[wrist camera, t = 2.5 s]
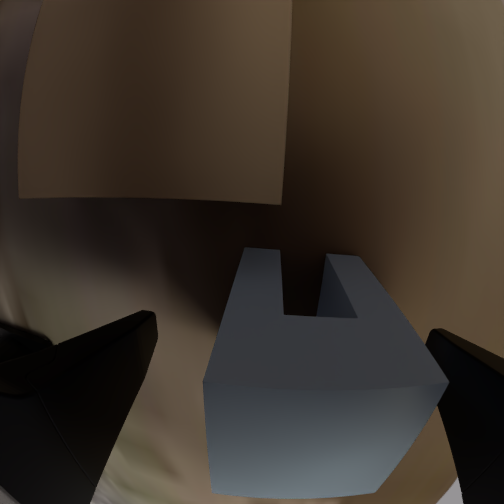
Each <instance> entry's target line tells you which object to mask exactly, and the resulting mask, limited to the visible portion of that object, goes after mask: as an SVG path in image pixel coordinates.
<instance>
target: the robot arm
mask: <svg viewBox="0 0 504 504" xmlns="http://www.w3.org/2000/svg"><path fill="white" fill-rule="evenodd" d="M157 339H158V331H157V321H156V315H155V313H154V312H152V311H146V310H141V311H139V312H136V313H134V314H132V315H129V316H127V317H124V318H122V319H119V320H117V321H114V322H112V323H109V324H107V325H104V326H102V327H99V328H97V329H94V330H92V331H89V332H87V333H84V334H82V335H79V336H77V337H74V338H71V339H69V340H66V341H64V342H61V343H59V344H58V345H57V344H56V345H54V346H52V345H51V343H49V342H48V341H47V340H45V339H42V338H39V337H36V336H33V335H30V334H27V333H25V332H22V331H19V330H16V329H14V328H11V327H9V326H6V325H3V324H1V323H0V504H90V502H91V500H92V497H93V495H94V492H95V490H96V487H97V484H98V482H99V480H100V477H101V475H102V472H103V470H104V468H105V465H106V463H107V461H108V458H109V456H110V454H111V451H112V449H113V447H114V445H115V442H116V440H117V438H118V435H119V433H120V431H121V429H122V427H123V424H124V422H125V420H126V418H127V415H128V413H129V411H130V409H131V407H132V405H133V402H134V400H135V398H136V396H137V394H138V392H139V390H140V387H141V385H142V383H143V381H144V379H145V376H146V373H147V370H148V367H149V364H150V361H151V358H152V355H153V352H154V349H155V346H156V343H157ZM425 346H426V347H427V349H428V350H429V352H430V353H431V355H432V356H433V358H434V359H435V361H436V362H437V364H438V365H439V367H440V368H441V370H442V371H443V373H444V374H445V376H446V377H447V379H448V381H449V384H448V386H447V387H446V389H445V391H444V393H443V395H442V397H441V399H440V400H439V402H438V404H437V406H438V409H439V412H440V415H441V418H442V421H443V425H444V428H445V431H446V434H447V438H448V441H449V445H450V448H451V452H452V455H453V459H454V463H455V467H456V471H457V475H458V479H459V483H460V488H461V492H462V499H463V503H464V504H504V358H502V357H500V356H498V355H495V354H493V353H491V352H489V351H487V350H485V349H483V348H481V347H479V346H477V345H475V344H473V343H471V342H469V341H467V340H465V339H463V338H461V337H459V336H457V335H455V334H453V333H451V332H449V331H447V330H444V329H442V328H438V329H432V330H431V331H430V333H429V336H428V338H427V341H426V344H425Z"/></svg>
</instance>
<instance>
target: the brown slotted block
mask: <svg viewBox="0 0 504 504" xmlns="http://www.w3.org/2000/svg"><path fill="white" fill-rule="evenodd" d="M291 26H292V0H43V2H42V5H41V9H40V12H39V15H38V18H37V22H36V26H35V29H34V33H33V37H32V41H31V45H30V50H29V55H28V60H27V65H26V70H25V76H24V83H23V90H22V98H21V107H20V117H19V132H18V192H19V199H26V198H67V197H122V198H166V199H192V200H213V201H231V202H247V203H262V204H275V205H281V201H282V187H283V174H284V160H285V145H286V129H287V112H288V94H289V74H290V52H291Z"/></svg>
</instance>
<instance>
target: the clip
mask: <svg viewBox="0 0 504 504" xmlns="http://www.w3.org/2000/svg"><path fill="white" fill-rule="evenodd" d="M448 384H449V381H448V379H447V377H446V376H445V374H444V373H443V371H442V370H441V368H440V367H439V365H438V364H437V362H436V361H435V359H434V358H433V356H432V355H431V353H430V352H429V350H428V349H427V347H426V346H425V344H424V343H423V341H422V340H421V338H420V337H419V335H418V334H417V333H416V331H415V330H414V328H413V327H412V326H411V324H410V323H409V321H408V320H407V319H406V317H405V316H404V314H403V313H402V312H401V310H400V309H399V308H398V306H397V305H396V303H395V302H394V301H393V299H392V298H391V297H390V295H389V294H388V293H387V291H386V290H385V289H384V288H383V286H382V285H381V284H380V282H379V281H378V280H377V278H376V277H375V276H374V275H373V273H372V272H371V271H370V269H369V268H368V267H367V266H366V264H365V263H364V262H363V261H362V259H361V258H360V257H359V256H351V255H338V254H326V258H325V265H324V272H323V279H322V285H321V291H320V298H319V304H318V309H317V315H316V317H312V316H295V315H284V311H283V292H282V274H281V258H280V250H274V249H261V248H248V247H245V248H244V251H243V254H242V257H241V261H240V264H239V267H238V270H237V273H236V276H235V280H234V283H233V286H232V289H231V292H230V295H229V299H228V302H227V305H226V308H225V311H224V315H223V318H222V321H221V324H220V328H219V331H218V334H217V337H216V340H215V344H214V347H213V350H212V353H211V357H210V360H209V363H208V366H207V370H206V373H205V376H204V379H203V393H204V409H205V423H206V436H207V448H208V459H209V469H210V479H211V488H212V493H216V494H224V495H233V496H243V497H256V498H277V499H308V498H329V497H341V496H351V495H360V494H367V493H374V492H376V491H377V489H378V488H379V487H380V486H381V485H382V484H383V482H384V481H385V480H386V479H387V477H388V476H389V475H390V474H391V472H392V471H393V470H394V469H395V467H396V466H397V465H398V463H399V462H400V461H401V459H402V458H403V457H404V455H405V454H406V452H407V451H408V450H409V448H410V447H411V445H412V444H413V442H414V441H415V439H416V438H417V436H418V435H419V433H420V432H421V430H422V429H423V427H424V426H425V424H426V422H427V421H428V419H429V418H430V416H431V414H432V413H433V411H434V409H435V407H436V406H437V404H438V402H439V400H440V399H441V397H442V395H443V393H444V391H445V389H446V387H447V386H448Z"/></svg>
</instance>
